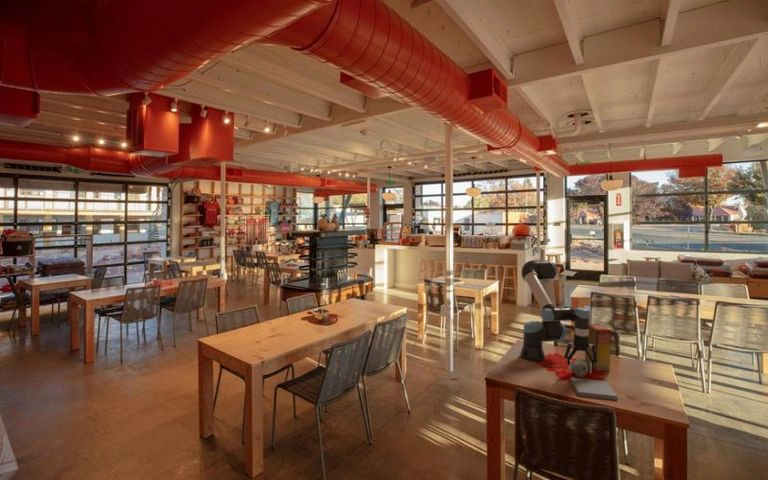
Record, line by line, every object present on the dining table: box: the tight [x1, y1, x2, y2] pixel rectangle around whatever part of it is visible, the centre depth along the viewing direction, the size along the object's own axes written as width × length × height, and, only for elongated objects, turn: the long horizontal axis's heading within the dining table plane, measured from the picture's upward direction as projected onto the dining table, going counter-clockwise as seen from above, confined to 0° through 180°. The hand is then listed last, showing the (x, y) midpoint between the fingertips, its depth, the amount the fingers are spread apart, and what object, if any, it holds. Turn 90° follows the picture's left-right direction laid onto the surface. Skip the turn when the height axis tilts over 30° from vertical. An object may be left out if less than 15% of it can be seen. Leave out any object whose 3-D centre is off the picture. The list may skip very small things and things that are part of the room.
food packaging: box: [584, 323, 612, 372], centre depth 231 cm, size 13×9×25 cm
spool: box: [571, 357, 589, 378], centre depth 219 cm, size 14×10×10 cm
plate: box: [570, 376, 618, 401], centre depth 200 cm, size 18×18×2 cm
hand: (580, 371), depth 219 cm, fingers closed on spool, 10 cm apart
